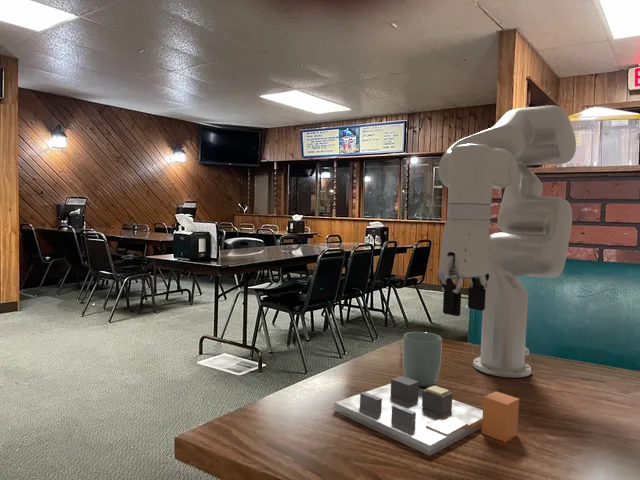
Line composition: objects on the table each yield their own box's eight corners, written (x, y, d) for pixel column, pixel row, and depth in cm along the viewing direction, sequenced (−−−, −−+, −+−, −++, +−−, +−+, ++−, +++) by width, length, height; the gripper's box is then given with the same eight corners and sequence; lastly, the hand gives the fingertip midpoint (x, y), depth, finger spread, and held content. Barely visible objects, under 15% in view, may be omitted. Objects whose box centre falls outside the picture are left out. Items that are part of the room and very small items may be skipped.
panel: (398, 388, 97) (399, 369, 97) (491, 422, 82) (492, 399, 82) (334, 411, 85) (335, 389, 84) (429, 455, 70) (430, 429, 70)
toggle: (400, 391, 91) (401, 375, 91) (418, 397, 88) (418, 381, 88) (390, 395, 89) (391, 379, 89) (408, 401, 86) (408, 385, 86)
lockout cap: (493, 426, 81) (495, 391, 80) (517, 435, 78) (519, 398, 77) (481, 433, 78) (483, 396, 78) (505, 442, 75) (507, 404, 75)
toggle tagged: (432, 403, 86) (432, 384, 85) (451, 410, 83) (452, 390, 82) (421, 407, 84) (422, 388, 83) (441, 414, 81) (442, 394, 80)
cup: (440, 392, 96) (442, 342, 95) (401, 388, 97) (403, 339, 96) (438, 379, 103) (441, 333, 103) (402, 375, 105) (404, 330, 104)
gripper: (475, 215, 95) (470, 303, 96) (422, 213, 83) (418, 314, 84) (511, 216, 89) (506, 309, 90) (460, 214, 78) (455, 322, 79)
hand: (464, 311), depth 87 cm, fingers open, 7 cm apart
